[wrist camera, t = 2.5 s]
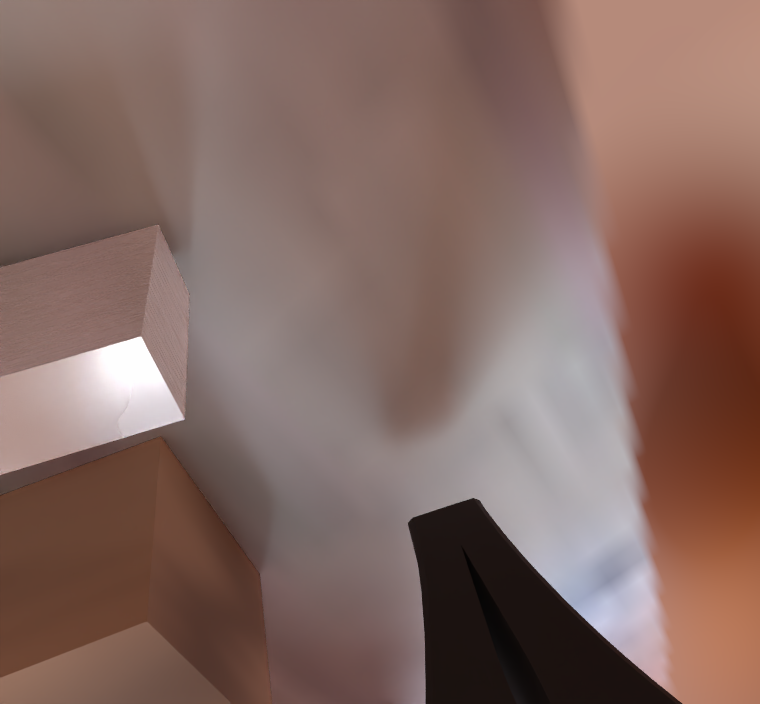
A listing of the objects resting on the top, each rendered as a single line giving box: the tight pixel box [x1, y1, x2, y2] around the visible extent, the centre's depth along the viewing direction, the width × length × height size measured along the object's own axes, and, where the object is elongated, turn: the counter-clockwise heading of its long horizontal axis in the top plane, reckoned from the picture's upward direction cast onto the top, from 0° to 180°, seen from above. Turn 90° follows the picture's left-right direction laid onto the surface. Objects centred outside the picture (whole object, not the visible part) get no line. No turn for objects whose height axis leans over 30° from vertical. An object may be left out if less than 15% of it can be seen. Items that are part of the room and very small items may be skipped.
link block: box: [0, 436, 272, 704], centre depth 11 cm, size 5×6×4 cm
